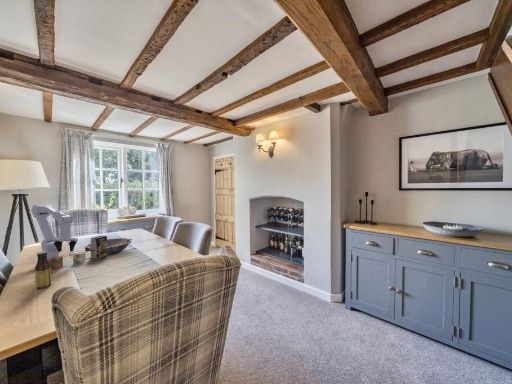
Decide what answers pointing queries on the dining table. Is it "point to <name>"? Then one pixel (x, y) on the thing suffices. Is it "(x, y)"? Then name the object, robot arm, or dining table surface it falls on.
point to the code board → (70, 266)
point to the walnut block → (56, 262)
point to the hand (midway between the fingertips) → (65, 251)
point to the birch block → (78, 257)
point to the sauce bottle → (42, 271)
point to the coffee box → (98, 246)
